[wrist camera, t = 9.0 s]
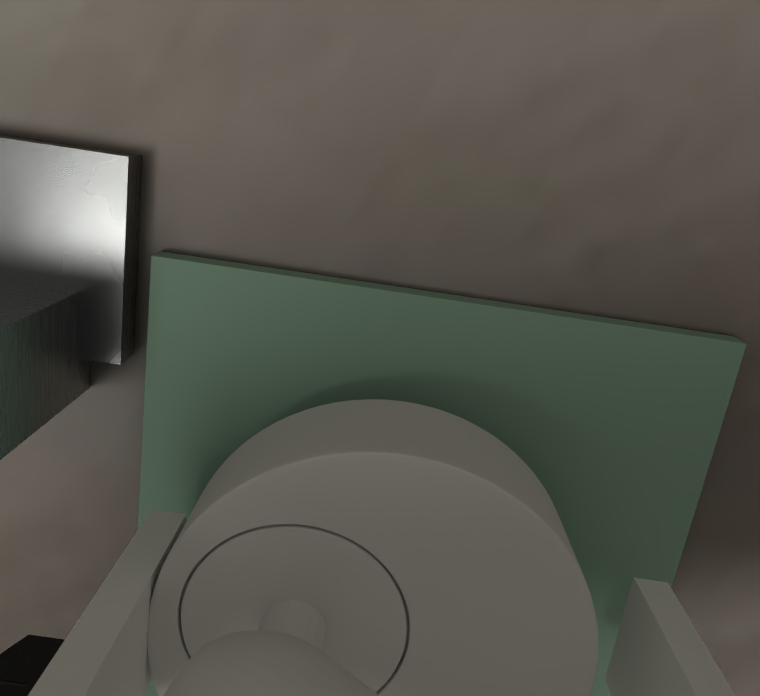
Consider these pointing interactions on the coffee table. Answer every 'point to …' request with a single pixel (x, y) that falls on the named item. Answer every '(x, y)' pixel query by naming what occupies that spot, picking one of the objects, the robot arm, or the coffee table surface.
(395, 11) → the coffee table surface
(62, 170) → the vise
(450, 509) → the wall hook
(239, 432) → the felt pad
